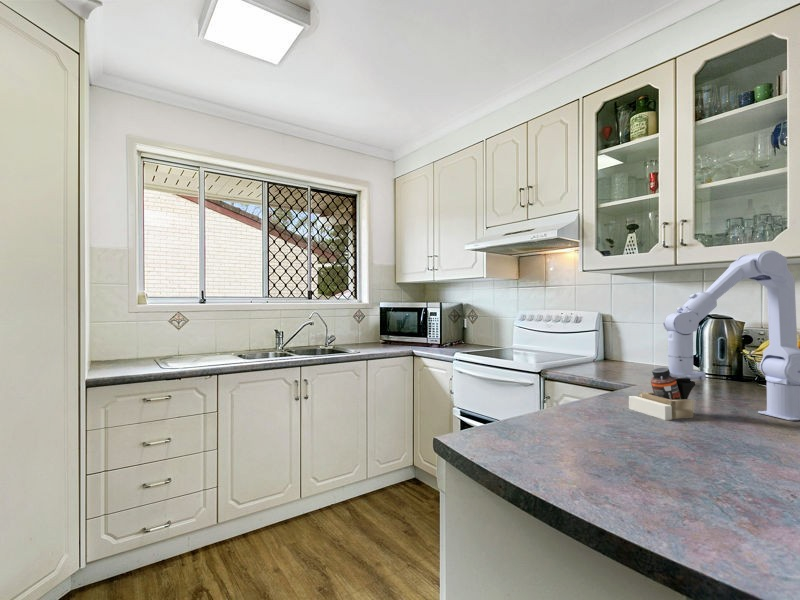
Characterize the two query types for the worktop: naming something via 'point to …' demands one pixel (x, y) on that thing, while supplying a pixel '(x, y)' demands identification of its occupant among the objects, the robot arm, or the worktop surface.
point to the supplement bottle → (664, 384)
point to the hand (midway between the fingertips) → (680, 406)
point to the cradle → (673, 405)
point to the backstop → (650, 407)
